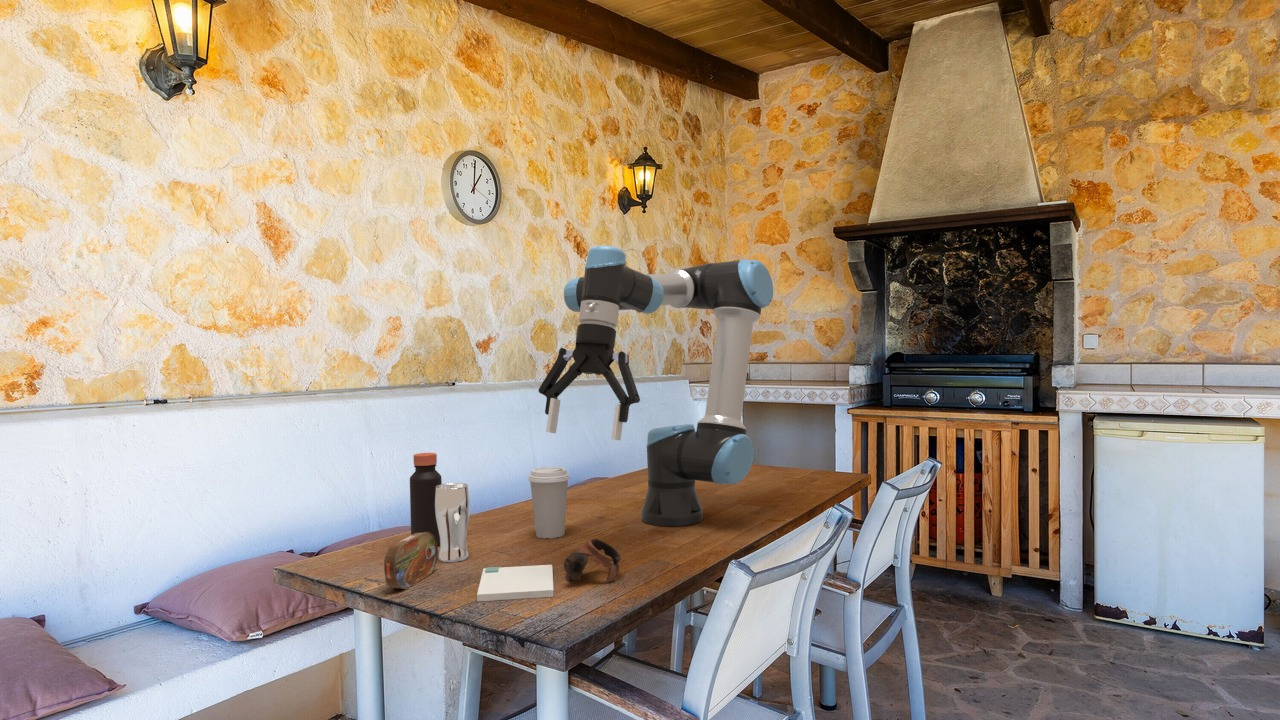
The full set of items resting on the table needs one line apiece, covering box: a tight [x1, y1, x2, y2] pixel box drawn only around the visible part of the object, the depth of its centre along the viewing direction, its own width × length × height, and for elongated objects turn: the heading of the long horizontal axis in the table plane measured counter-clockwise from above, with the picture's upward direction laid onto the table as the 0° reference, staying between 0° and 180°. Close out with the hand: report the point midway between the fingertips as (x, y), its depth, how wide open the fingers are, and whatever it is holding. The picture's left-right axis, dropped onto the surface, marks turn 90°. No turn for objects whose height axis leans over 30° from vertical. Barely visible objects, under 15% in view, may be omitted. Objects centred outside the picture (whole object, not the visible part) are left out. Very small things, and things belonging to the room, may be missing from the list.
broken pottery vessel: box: [563, 538, 622, 583], centre depth 138 cm, size 12×10×8 cm
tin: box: [383, 532, 439, 590], centre depth 139 cm, size 15×3×8 cm, turn 166°
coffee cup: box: [527, 466, 571, 539], centre depth 171 cm, size 10×10×15 cm
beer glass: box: [435, 482, 471, 563], centre depth 154 cm, size 7×7×15 cm
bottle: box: [409, 452, 443, 547], centre depth 165 cm, size 7×7×20 cm
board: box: [476, 564, 555, 602], centre depth 136 cm, size 13×15×2 cm
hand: (582, 436), depth 141 cm, fingers open, 13 cm apart
